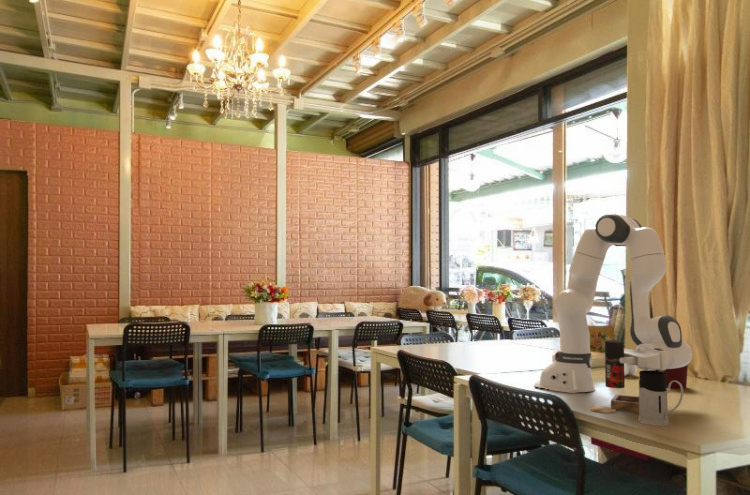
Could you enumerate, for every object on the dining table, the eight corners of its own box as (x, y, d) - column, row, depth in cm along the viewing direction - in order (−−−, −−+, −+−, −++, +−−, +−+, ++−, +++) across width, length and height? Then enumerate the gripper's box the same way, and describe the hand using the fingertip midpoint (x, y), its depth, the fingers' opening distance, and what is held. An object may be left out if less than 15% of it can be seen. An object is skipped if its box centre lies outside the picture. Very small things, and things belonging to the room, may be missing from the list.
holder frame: (610, 409, 197) (610, 400, 197) (616, 402, 207) (615, 394, 207) (648, 413, 191) (648, 404, 191) (652, 406, 201) (651, 397, 201)
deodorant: (602, 386, 198) (601, 341, 198) (610, 383, 202) (609, 339, 202) (620, 389, 194) (619, 343, 194) (627, 386, 198) (626, 341, 198)
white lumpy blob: (602, 372, 266) (602, 352, 266) (630, 372, 266) (629, 352, 266) (612, 377, 255) (611, 356, 255) (640, 377, 254) (640, 356, 255)
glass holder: (650, 416, 188) (649, 369, 188) (692, 427, 175) (691, 376, 176) (631, 420, 183) (630, 371, 184) (673, 431, 171) (672, 379, 171)
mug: (660, 388, 230) (660, 360, 230) (651, 384, 239) (651, 356, 239) (692, 389, 229) (691, 360, 230) (682, 384, 238) (681, 357, 238)
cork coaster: (587, 411, 195) (587, 409, 195) (591, 406, 202) (591, 404, 202) (613, 414, 191) (613, 412, 191) (617, 409, 198) (617, 407, 198)
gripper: (626, 343, 211) (592, 345, 208) (669, 351, 192) (632, 353, 188) (626, 361, 211) (593, 363, 208) (669, 371, 192) (632, 373, 188)
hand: (612, 358), depth 198 cm, fingers closed on deodorant, 6 cm apart
